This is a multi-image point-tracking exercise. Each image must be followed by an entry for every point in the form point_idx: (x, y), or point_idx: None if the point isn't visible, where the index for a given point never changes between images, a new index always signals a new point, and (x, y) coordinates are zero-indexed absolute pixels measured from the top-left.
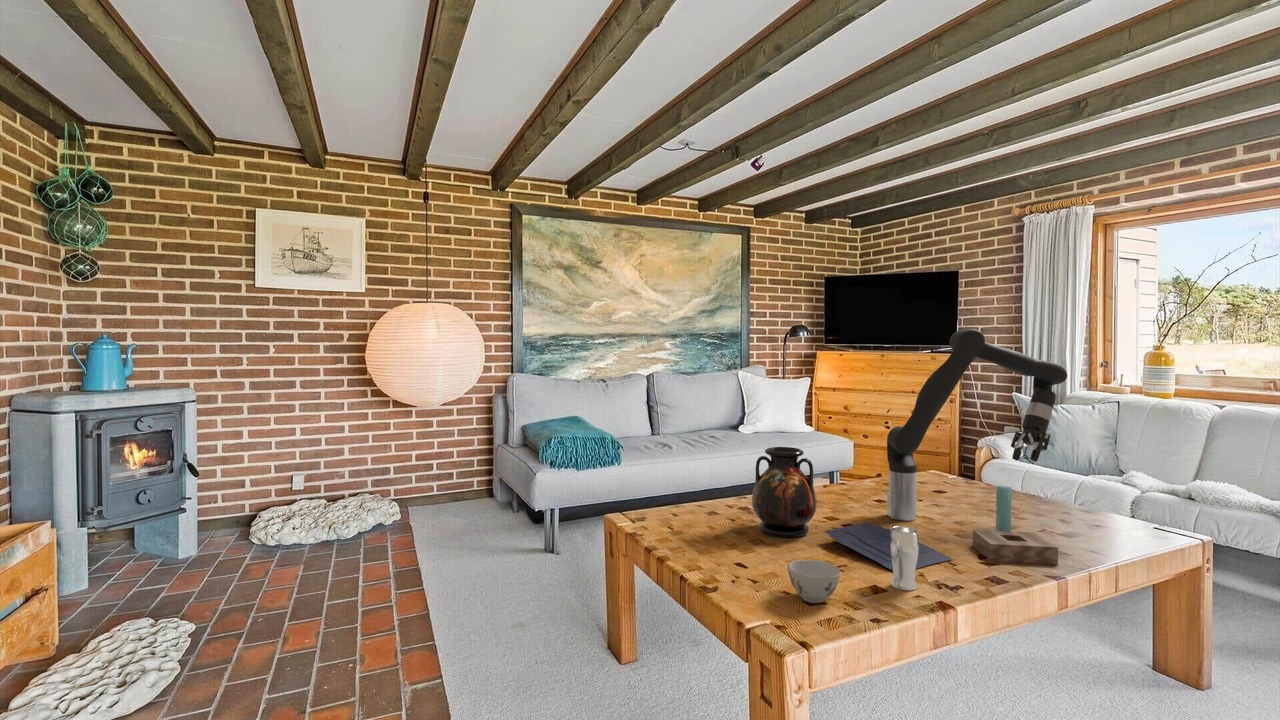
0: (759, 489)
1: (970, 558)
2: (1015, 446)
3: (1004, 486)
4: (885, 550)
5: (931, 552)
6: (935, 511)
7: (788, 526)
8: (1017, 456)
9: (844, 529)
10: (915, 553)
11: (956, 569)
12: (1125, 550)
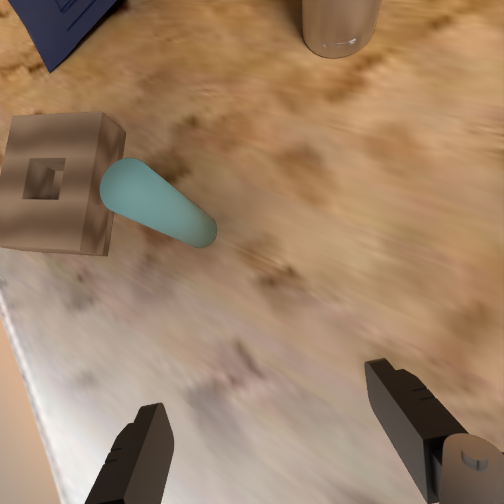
0: None
1: (57, 105)
2: (476, 465)
3: (138, 193)
4: None
5: (66, 37)
6: (427, 128)
7: None
8: (382, 410)
9: None
10: None
11: (13, 68)
12: (94, 473)
